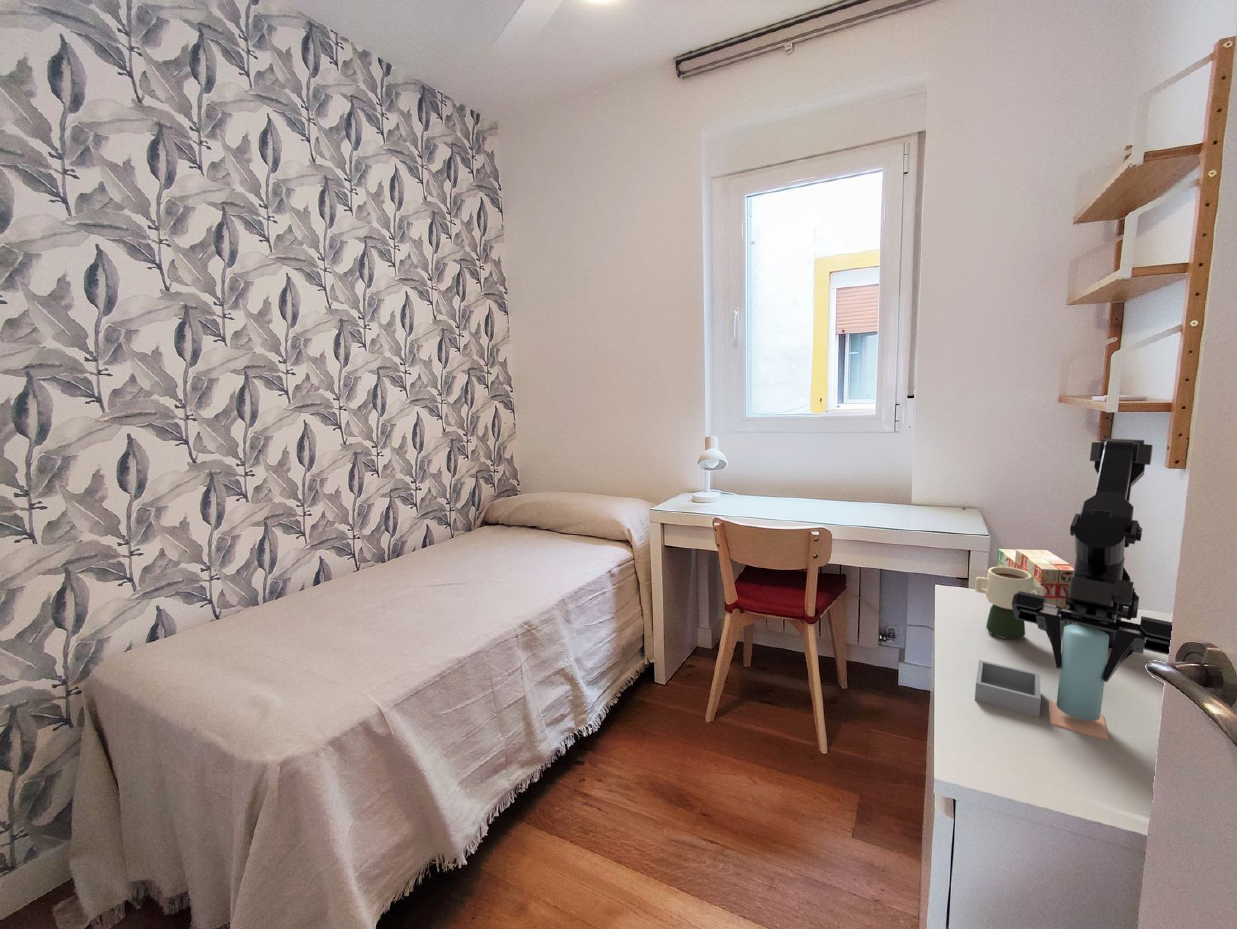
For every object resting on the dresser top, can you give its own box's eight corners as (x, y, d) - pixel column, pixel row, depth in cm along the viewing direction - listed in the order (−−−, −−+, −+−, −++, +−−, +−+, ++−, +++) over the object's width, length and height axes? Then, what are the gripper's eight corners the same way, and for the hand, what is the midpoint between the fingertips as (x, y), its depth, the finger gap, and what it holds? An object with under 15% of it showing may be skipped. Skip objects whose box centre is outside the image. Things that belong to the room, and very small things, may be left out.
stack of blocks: (995, 585, 131) (998, 536, 129) (1025, 586, 129) (1029, 537, 127) (1036, 625, 111) (1041, 567, 109) (1072, 627, 109) (1078, 569, 107)
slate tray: (977, 677, 93) (979, 659, 93) (1037, 692, 88) (1039, 673, 88) (974, 702, 87) (975, 682, 86) (1038, 719, 82) (1040, 699, 81)
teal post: (1051, 697, 84) (1058, 622, 82) (1091, 703, 82) (1099, 626, 80) (1064, 717, 79) (1072, 638, 77) (1106, 723, 77) (1116, 643, 75)
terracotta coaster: (1048, 704, 85) (1048, 700, 85) (1102, 718, 82) (1102, 714, 81) (1050, 726, 80) (1050, 722, 80) (1107, 742, 76) (1108, 738, 76)
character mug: (1038, 633, 107) (1044, 571, 105) (1040, 649, 101) (1046, 583, 99) (972, 621, 113) (977, 562, 111) (971, 635, 108) (976, 573, 105)
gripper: (1018, 542, 86) (998, 632, 80) (1187, 569, 73) (1178, 678, 67) (1024, 575, 93) (1005, 660, 87) (1180, 604, 80) (1170, 706, 74)
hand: (1081, 674), depth 79 cm, fingers closed on teal post, 5 cm apart
